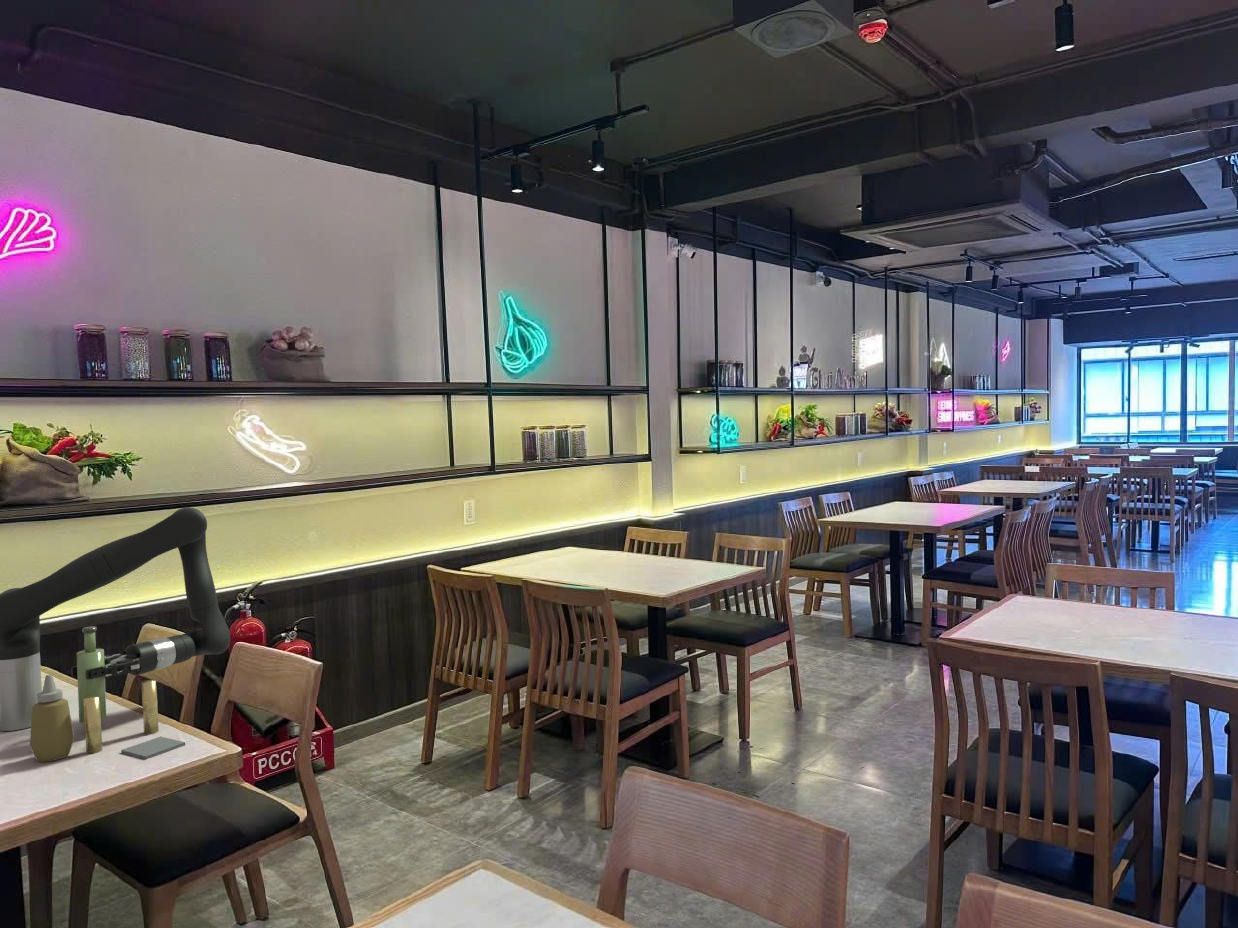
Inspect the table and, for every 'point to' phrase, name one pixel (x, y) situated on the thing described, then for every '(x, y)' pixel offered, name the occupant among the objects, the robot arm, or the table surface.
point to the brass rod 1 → (92, 724)
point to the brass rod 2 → (150, 706)
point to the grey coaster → (153, 747)
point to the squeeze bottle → (51, 724)
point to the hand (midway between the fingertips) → (79, 673)
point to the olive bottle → (88, 661)
